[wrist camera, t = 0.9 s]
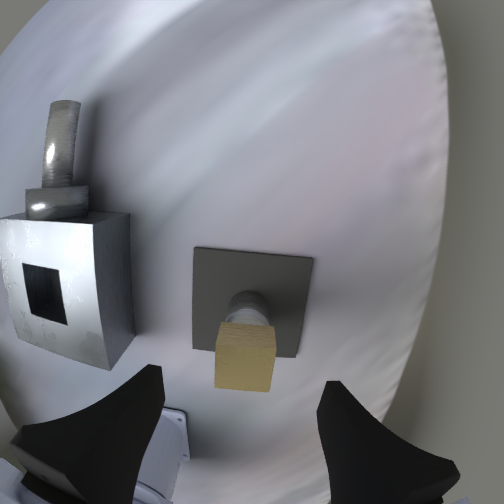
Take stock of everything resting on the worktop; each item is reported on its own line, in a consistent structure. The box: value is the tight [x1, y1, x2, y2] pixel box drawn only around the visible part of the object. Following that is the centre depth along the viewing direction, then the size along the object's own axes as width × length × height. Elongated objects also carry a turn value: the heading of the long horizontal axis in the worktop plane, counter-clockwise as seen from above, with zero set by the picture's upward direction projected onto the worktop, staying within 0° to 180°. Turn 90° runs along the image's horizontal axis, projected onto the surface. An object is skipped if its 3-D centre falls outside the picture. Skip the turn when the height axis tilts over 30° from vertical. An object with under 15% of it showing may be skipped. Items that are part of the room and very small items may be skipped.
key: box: [214, 290, 277, 392], centre depth 16 cm, size 3×3×7 cm
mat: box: [192, 247, 313, 358], centre depth 19 cm, size 8×8×1 cm
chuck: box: [0, 100, 136, 371], centre depth 16 cm, size 18×10×5 cm, turn 175°
